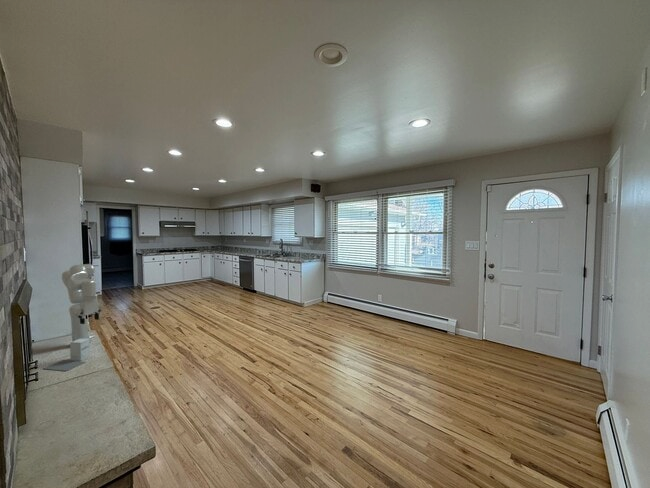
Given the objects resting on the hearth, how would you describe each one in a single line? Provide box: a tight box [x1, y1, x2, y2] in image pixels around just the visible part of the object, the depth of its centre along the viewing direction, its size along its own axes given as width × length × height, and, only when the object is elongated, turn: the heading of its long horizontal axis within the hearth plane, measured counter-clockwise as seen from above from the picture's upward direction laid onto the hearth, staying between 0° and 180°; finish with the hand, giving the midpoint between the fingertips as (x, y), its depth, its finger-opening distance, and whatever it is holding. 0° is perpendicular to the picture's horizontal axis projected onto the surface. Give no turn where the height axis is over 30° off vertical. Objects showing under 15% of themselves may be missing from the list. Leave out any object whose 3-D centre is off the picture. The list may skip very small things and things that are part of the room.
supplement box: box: [69, 339, 91, 362], centre depth 190 cm, size 7×7×13 cm
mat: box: [42, 359, 87, 372], centre depth 180 cm, size 12×18×1 cm, turn 80°
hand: (89, 321), depth 197 cm, fingers open, 9 cm apart
